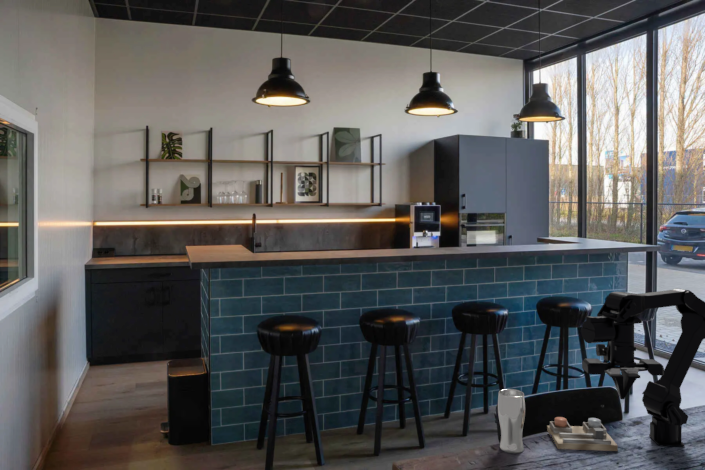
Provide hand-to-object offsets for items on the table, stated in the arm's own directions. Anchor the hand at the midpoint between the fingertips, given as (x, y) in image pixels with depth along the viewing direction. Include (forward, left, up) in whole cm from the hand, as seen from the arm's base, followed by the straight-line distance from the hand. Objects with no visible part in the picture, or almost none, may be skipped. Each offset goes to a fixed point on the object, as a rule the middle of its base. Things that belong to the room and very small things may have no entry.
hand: (622, 398), depth 141 cm
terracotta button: (+14, -6, -10) cm, 18 cm away
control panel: (+9, -3, -13) cm, 16 cm away
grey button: (+5, -7, -10) cm, 13 cm away
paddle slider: (+6, 0, -11) cm, 13 cm away
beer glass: (+29, +3, -13) cm, 32 cm away
